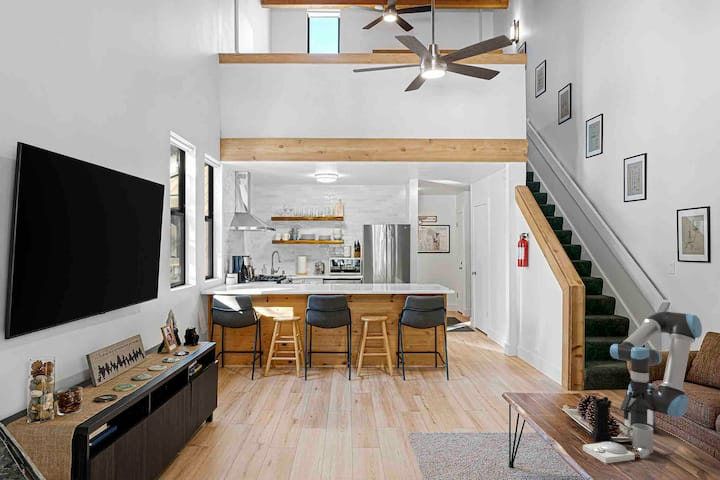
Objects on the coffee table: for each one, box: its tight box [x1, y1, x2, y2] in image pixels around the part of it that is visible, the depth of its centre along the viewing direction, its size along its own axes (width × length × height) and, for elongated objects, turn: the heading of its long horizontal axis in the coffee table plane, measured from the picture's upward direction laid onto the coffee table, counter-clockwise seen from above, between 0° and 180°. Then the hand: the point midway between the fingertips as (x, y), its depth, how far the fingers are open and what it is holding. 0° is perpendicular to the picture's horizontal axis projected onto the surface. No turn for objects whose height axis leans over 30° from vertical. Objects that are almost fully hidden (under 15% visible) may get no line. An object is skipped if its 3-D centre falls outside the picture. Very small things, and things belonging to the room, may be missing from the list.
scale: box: [582, 441, 636, 464], centre depth 219 cm, size 16×14×4 cm
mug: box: [626, 424, 654, 455], centre depth 226 cm, size 12×8×11 cm
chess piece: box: [589, 395, 614, 443], centre depth 237 cm, size 8×8×20 cm
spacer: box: [637, 446, 650, 460], centre depth 217 cm, size 4×4×4 cm
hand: (638, 425), depth 226 cm, fingers open, 13 cm apart
